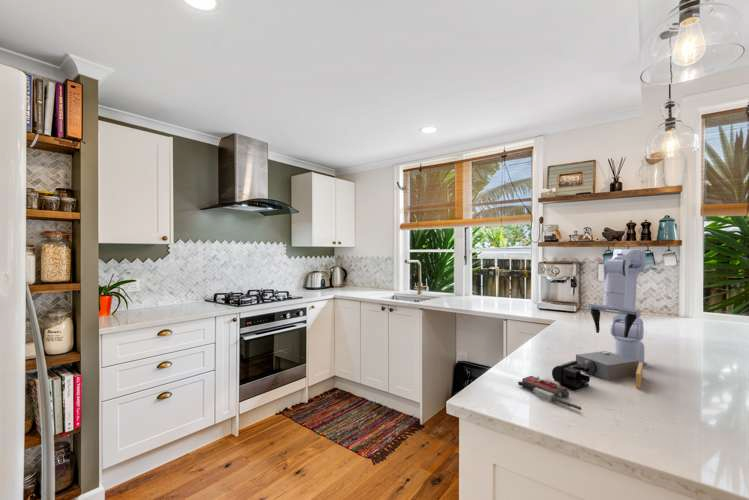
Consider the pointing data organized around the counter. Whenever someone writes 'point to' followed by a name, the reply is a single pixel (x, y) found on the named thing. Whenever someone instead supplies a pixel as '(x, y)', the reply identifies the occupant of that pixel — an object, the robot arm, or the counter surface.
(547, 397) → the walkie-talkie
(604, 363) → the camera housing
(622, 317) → the robot arm
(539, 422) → the counter surface
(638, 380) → the long wooden stick
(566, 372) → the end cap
